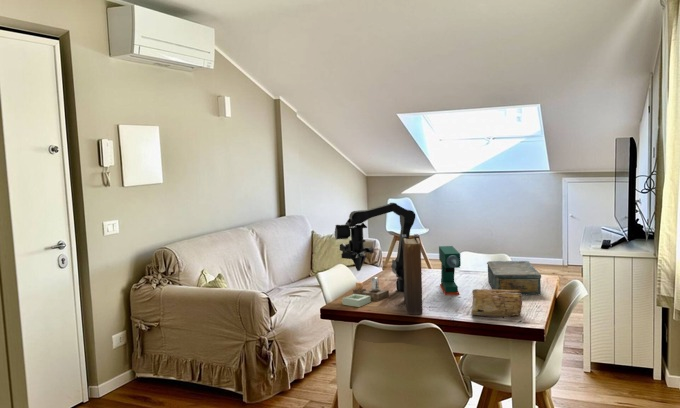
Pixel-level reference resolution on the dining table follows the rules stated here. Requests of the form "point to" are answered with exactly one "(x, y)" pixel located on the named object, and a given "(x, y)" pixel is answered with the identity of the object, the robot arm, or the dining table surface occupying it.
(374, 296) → the block
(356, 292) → the button housing
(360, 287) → the button
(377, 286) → the steel pin
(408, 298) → the decorative book
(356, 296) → the block
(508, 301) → the petrified wood
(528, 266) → the metal box
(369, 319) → the dining table surface
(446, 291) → the power tool
